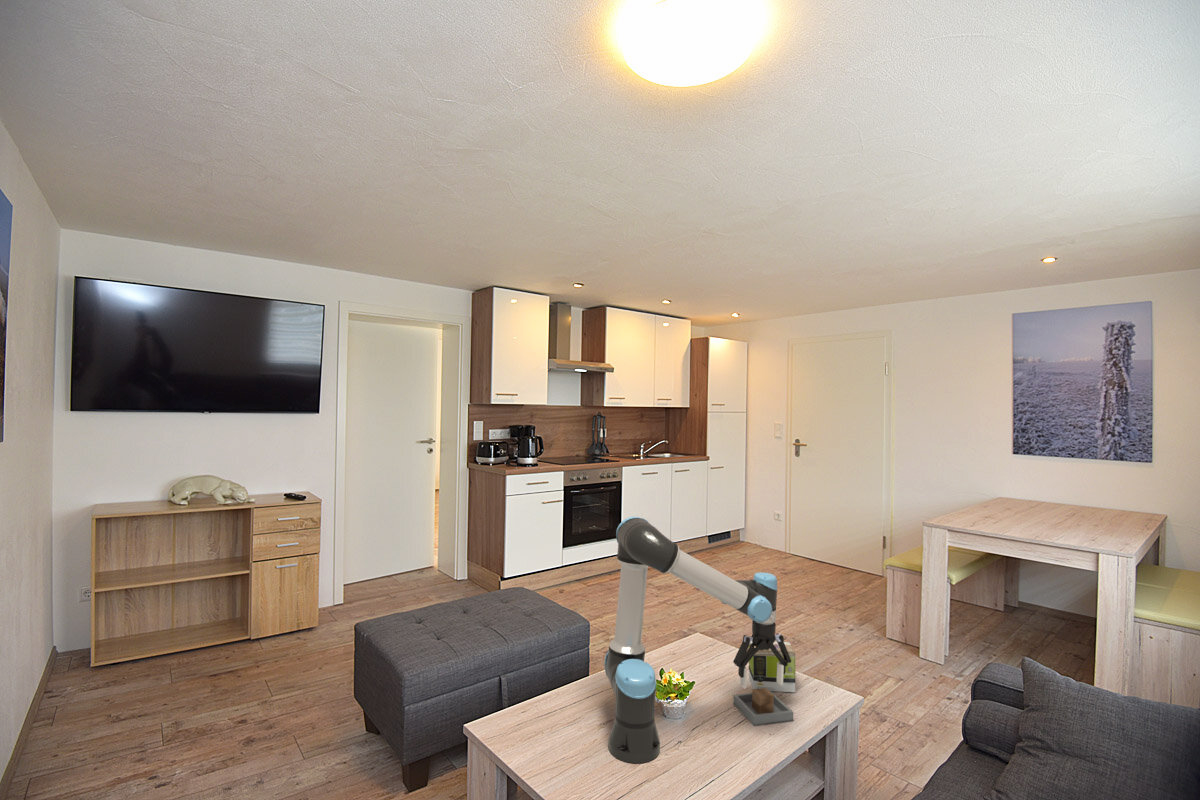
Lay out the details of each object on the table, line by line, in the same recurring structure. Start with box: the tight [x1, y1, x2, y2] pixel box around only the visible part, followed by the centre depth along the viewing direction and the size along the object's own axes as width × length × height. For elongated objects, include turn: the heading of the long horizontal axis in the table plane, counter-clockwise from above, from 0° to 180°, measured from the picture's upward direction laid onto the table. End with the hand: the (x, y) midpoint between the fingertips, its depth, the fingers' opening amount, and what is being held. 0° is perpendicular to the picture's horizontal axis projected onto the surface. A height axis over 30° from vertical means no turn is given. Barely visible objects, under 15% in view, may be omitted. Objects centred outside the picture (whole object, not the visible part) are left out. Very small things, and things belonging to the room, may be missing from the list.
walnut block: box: [751, 688, 775, 714], centre depth 186 cm, size 5×5×6 cm
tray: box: [732, 691, 794, 727], centre depth 186 cm, size 14×14×3 cm
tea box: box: [748, 640, 797, 693], centre depth 205 cm, size 15×10×15 cm
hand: (761, 685), depth 186 cm, fingers open, 13 cm apart
